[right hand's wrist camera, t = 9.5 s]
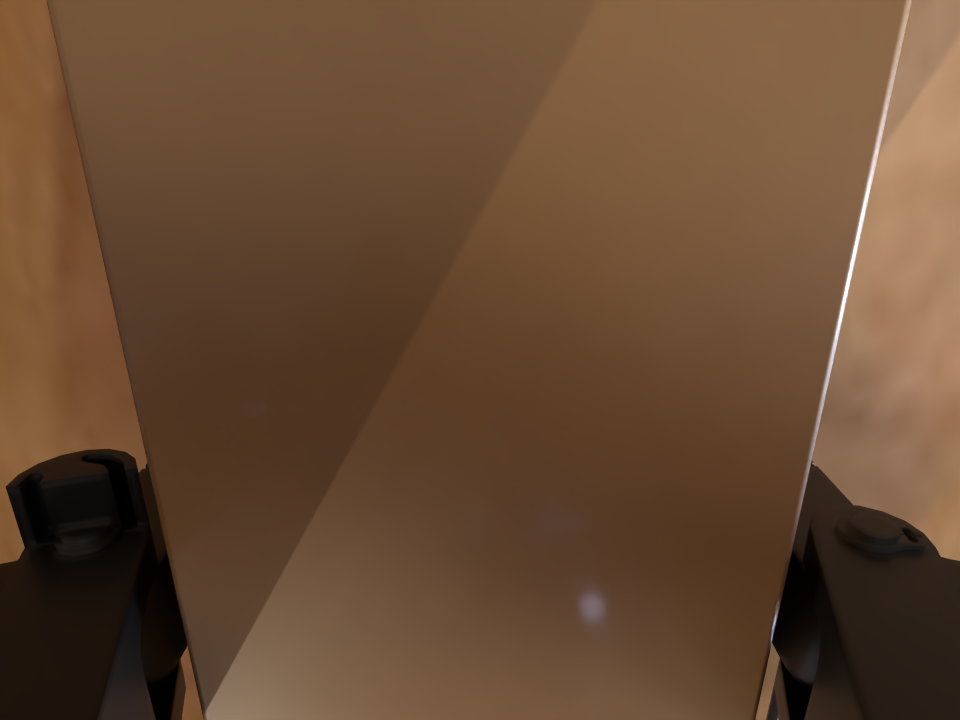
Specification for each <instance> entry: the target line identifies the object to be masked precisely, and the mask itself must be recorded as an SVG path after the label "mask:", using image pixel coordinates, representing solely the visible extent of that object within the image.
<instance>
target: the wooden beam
mask: <svg viewBox="0 0 960 720" xmlns="http://www.w3.org/2000/svg"><path fill="white" fill-rule="evenodd" d="M911 2H912V0H47V4H48V9H49V13H50V18H51V23H52V27H53V32H54V36H55V41H56V45H57V50H58V55H59V59H60V64H61V68H62V73H63V77H64V82H65V87H66V91H67V96H68V100H69V105H70V110H71V114H72V119H73V123H74V128H75V132H76V137H77V142H78V146H79V151H80V155H81V160H82V164H83V169H84V174H85V178H86V183H87V187H88V192H89V196H90V201H91V206H92V210H93V215H94V219H95V224H96V228H97V233H98V238H99V242H100V247H101V251H102V256H103V260H104V265H105V270H106V274H107V279H108V283H109V288H110V293H111V297H112V302H113V306H114V311H115V315H116V320H117V325H118V329H119V334H120V338H121V343H122V347H123V352H124V357H125V361H126V366H127V370H128V375H129V379H130V384H131V389H132V393H133V398H134V402H135V407H136V411H137V416H138V421H139V425H140V430H141V434H142V439H143V444H144V448H145V453H146V457H147V462H148V466H149V471H150V476H151V480H152V485H153V489H154V494H155V498H156V503H157V508H158V512H159V517H160V521H161V526H162V530H163V535H164V540H165V544H166V549H167V553H168V558H169V562H170V567H171V572H172V576H173V581H174V585H175V590H176V595H177V599H178V604H179V608H180V613H181V617H182V622H183V627H184V631H185V636H186V640H187V645H188V649H189V654H190V659H191V663H192V668H193V672H194V677H195V681H196V686H197V691H198V695H199V700H200V704H201V709H202V713H203V718H204V720H755V718H756V713H757V709H758V704H759V699H760V695H761V690H762V686H763V681H764V677H765V672H766V667H767V663H768V658H769V654H770V649H771V644H772V640H773V635H774V631H775V626H776V621H777V617H778V612H779V608H780V603H781V598H782V594H783V589H784V585H785V580H786V576H787V571H788V566H789V562H790V557H791V553H792V548H793V543H794V539H795V534H796V530H797V525H798V520H799V516H800V511H801V507H802V502H803V498H804V493H805V488H806V484H807V479H808V475H809V470H810V465H811V461H812V456H813V452H814V447H815V442H816V438H817V433H818V429H819V424H820V419H821V415H822V410H823V406H824V401H825V397H826V392H827V387H828V383H829V378H830V374H831V369H832V364H833V360H834V355H835V351H836V346H837V341H838V337H839V332H840V328H841V323H842V319H843V314H844V309H845V305H846V300H847V296H848V291H849V286H850V282H851V277H852V273H853V268H854V263H855V259H856V254H857V250H858V245H859V240H860V236H861V231H862V227H863V222H864V218H865V213H866V208H867V204H868V199H869V195H870V190H871V185H872V181H873V176H874V172H875V167H876V162H877V158H878V153H879V149H880V144H881V140H882V135H883V130H884V126H885V121H886V117H887V112H888V107H889V103H890V98H891V94H892V89H893V84H894V80H895V75H896V71H897V66H898V61H899V57H900V52H901V48H902V43H903V39H904V34H905V29H906V25H907V20H908V16H909V11H910V6H911Z"/></svg>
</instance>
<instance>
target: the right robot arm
mask: <svg viewBox="0 0 960 720" xmlns="http://www.w3.org/2000/svg"><path fill="white" fill-rule="evenodd" d="M6 489H7V492H8V496H9V499H10V502H11V505H12V508H13V512H14V515H15V518H16V521H17V524H18V527H19V531H20V534H21V537H22V540H23V543H24V546H25V549H24V550H23V552H22V554H21V556H20V558H19V560H17V561H13V562H9V563H4V564H0V720H181V719H182V712H183V704H184V697H185V689H186V687H185V680H184V673H183V669H182V665H181V660H180V658H181V657H182V655H183V653H184V651H185V649H186V647H187V640H186V636H185V631H184V627H183V622H182V617H181V613H180V608H179V604H178V599H177V595H176V590H175V585H174V581H173V576H172V572H171V567H170V562H169V558H168V553H167V549H166V544H165V540H164V535H163V530H162V526H161V521H160V517H159V512H158V508H157V503H156V498H155V494H154V489H153V485H152V480H151V476H150V471H149V466H148V463H147V465H146V469H142V470H141V471H140V472H139V473H138V469H137V465H136V460H135V458H133V457H132V456H131V455H129V454H128V453H126V452H123V451H117V450H112V449H97V450H84V451H80V452H75V453H70V454H65V455H61V456H58V457H55V458H53V459H50V460H47V461H44V462H42V463H39V464H37V465H35V466H33V467H31V468H30V469H28V470H26V471H24V472H22V473H21V474H19V475H18V476H17V477H16V478H15V479H14V480H12V481H11V482H10V483H9V484H8V485H7V486H6ZM772 643H773V645H774V647H775V649H776V651H777V653H778V654H779V656H780V660H779V665H778V669H777V673H776V678H775V682H774V687H773V691H772V696H771V700H770V705H769V709H768V713H767V718H766V720H777V719H778V718H779V720H960V561H956V560H951V559H947V558H943V557H940V555H939V553H938V551H937V549H936V547H935V546H934V545H933V544H932V543H931V541H930V540H929V539H928V538H927V537H926V536H925V534H924V533H922V532H921V531H919V530H918V529H916V528H915V527H913V526H912V525H910V524H909V523H907V522H906V521H904V520H901V519H899V518H897V517H894V516H892V515H890V514H887V513H885V512H882V511H878V510H874V509H870V508H866V507H862V506H854V505H853V504H852V503H851V502H850V501H849V500H848V499H847V498H846V497H845V496H844V495H843V494H842V493H841V491H840V490H839V489H838V488H837V487H836V486H835V485H834V484H833V483H832V482H831V481H830V480H829V479H828V477H827V476H826V475H825V474H824V473H823V472H822V471H821V470H820V469H819V468H818V467H817V466H814V462H813V461H811V465H810V470H809V475H808V479H807V484H806V488H805V493H804V498H803V502H802V507H801V511H800V516H799V520H798V525H797V530H796V534H795V539H794V543H793V548H792V553H791V557H790V562H789V566H788V571H787V576H786V580H785V585H784V589H783V594H782V598H781V603H780V608H779V612H778V617H777V621H776V626H775V631H774V635H773V640H772Z"/></svg>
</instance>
